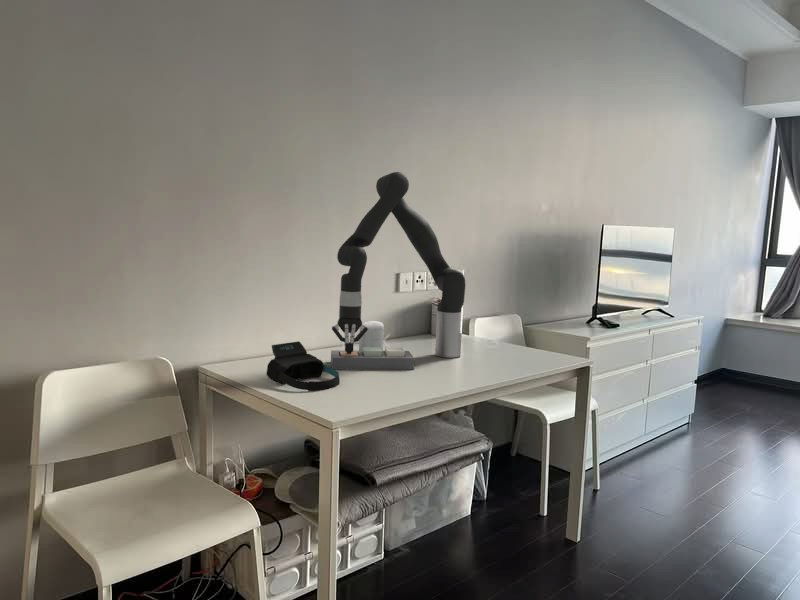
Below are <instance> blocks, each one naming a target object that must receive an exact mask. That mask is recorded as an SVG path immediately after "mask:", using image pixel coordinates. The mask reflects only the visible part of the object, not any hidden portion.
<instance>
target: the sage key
mask: <svg viewBox="0 0 800 600" xmlns="http://www.w3.org/2000/svg"><path fill="white" fill-rule="evenodd" d="M363 356H382V351H381V349H380V348H377V347H363Z"/></svg>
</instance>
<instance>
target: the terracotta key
mask: <svg viewBox="0 0 800 600" xmlns="http://www.w3.org/2000/svg"><path fill="white" fill-rule="evenodd" d="M340 356H359V355H358V353H357V352H351V354H347V352H340Z"/></svg>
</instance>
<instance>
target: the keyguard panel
mask: <svg viewBox="0 0 800 600" xmlns="http://www.w3.org/2000/svg"><path fill="white" fill-rule="evenodd" d="M404 351H405V354H404V357H388V356H385V350H383V351H382V356H363V351H359V350H353V352H357V353H358V355H359V356H340V352H345V349H343V350H339V349H337V350H336V349H335V350H334V349H333V350H330V365H331V368H332V369H334V370H378V371H379V370H381V371H382V370H385V371H386V370H391V371H393V370H401V371H402V370H403V371H405V370H410V371H411V370H415V357H414V356H413V355H412V353H411V352H410V351H409V350H404Z"/></svg>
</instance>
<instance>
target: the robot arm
mask: <svg viewBox="0 0 800 600" xmlns="http://www.w3.org/2000/svg"><path fill="white" fill-rule="evenodd" d="M375 188H376V192H377V194H378V197H379V199H378V200H377V201H376V203H375V204H374V205H373V206H372V207H371V208H370V210H368V212H366V214H365V215H364V216H363V218H362V219H361V220H360V222H359V224H358V225H357V227H356V229H354V230H355V231H354V232H353V233H352V234H351V235H350V236H349V237H348V238H347V240H345V241H344V242H343V243H342V244H341V246H340V247H339V249H338V252H337V255H336V258H337V261H338V264H340V265H341V266H344V267H349V269H348V272H346V273H344V274H342V275H341V277H340V295H339V312H338V313H339V314H338V320H337V323H336V324H335V325H332V326H331V330H332V331H333V333H334V334H335V335H336V338H338V339H339V341H340V342H342V343H344V350H345V352H347V354H351V352H353V351H354V345H355V343H357V342H358V343H359V340H360V339H361V337H362V336H363V335H364V334H365V333H366V331H367V330H368V328H367V327H366V326H364V325H363V321H362V304H363V301H362V298H363V297H362V281H363V280H362V278H363V275H364V272H365V269H366V265H367V260H368V256H367V251H366V250H365V249H364V248H366V247H369V246H371V245H372V243H373V241H374V240H375V238H376V237H377V234H378V233H379V231H380V230H381V228H382V226H383V224H384V223H385V221H386V220H387V218H388V217H389V215H390V214H391V213H392V215H393V216H394V218H395V219H396V221H397V222H398V225H400V228H402V230H403V232H404V234H405V235H406V237H407V238H408V240H409V242H410V243H411V245H412V246H413V248H414V250H415V251H416V252H417V254H418V256H419V257H420V258H421V260H422V261H423V262H424V264H425V266H426V267H427V269H428V271H429V273H430V275H431V277H432V279H433V281H434V284H435V285H436V287H437V289H439V290H440V291H441V293H442V294H441V299H440V301H439V302H438V303H437V307H436V311H437V312H436V327H435V328H436V329H435V330H436V331H435V348H434V349H435V350H434V352H435V353H434V355H435V356H437V357H440V358H458V357H459V358H460V357H461V353H462V352H461V351H462V333H463V332H462V331H461V327H462V310H463V309H462V308H463V306H464V302H465V294H466V279H465V275H464V274H463V272H462V271H459V270H457V269H453V268H452V267H450V265H449V264H448V262H447V260H445V258H444V256H443V254H442V251H441V249H440V245H439V244H440V243H439V241H438V238H437V236H436V234H435V231H434V230H433V229H432V227H431V225H430V223H429V222H428V221H427V220H426V219H425V218H424V216H422V215H420V213H418V212H416V210H414V209H413V208H411V206H410V205H409V204H408V203H407V202H406V200H405V198H404V196H405V195H406V194H407V193H408V191H409V189H410V183H409V178H408V177H407V176H406V174H404V173H403V172H401V171H393V172H391V173H390V172H389V173H388V174H385V175H383V176H381V177H379V178H378V179H377V180H376V184H375ZM360 327H361V328H360ZM339 330H341V331H342V332H343V333H344V337H343V335H342V334H341V333H340V332H339ZM360 330H361V331H360ZM358 331H359V333H357V332H358ZM356 333H357V335H356V336H355V334H356Z"/></svg>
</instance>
